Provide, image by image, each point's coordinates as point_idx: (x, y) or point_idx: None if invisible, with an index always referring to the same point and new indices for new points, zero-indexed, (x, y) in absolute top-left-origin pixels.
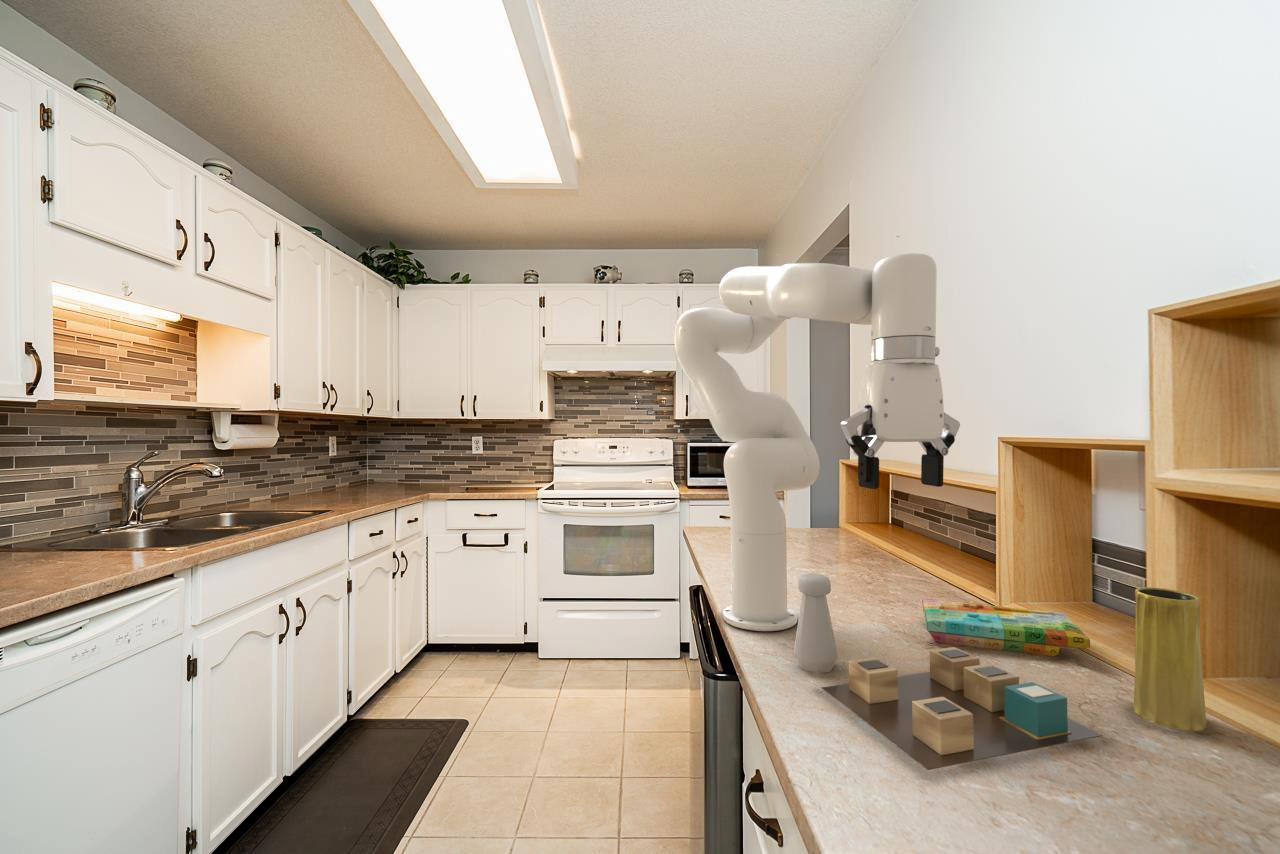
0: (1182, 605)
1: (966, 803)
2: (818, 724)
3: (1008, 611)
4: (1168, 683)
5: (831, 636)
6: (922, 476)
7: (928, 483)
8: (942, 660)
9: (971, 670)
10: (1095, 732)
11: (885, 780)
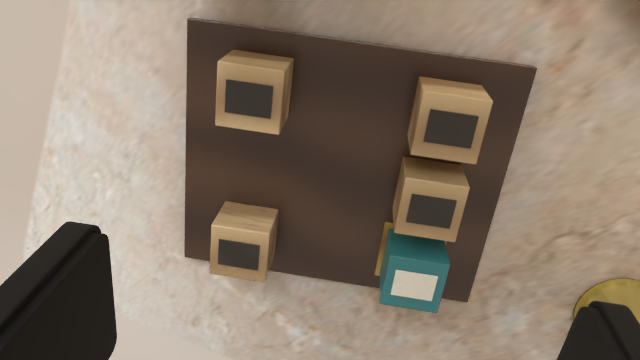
0: None
1: (191, 296)
2: (124, 107)
3: None
4: None
5: None
6: (596, 347)
7: (562, 358)
8: (415, 124)
9: (404, 193)
10: (467, 295)
11: (134, 238)
